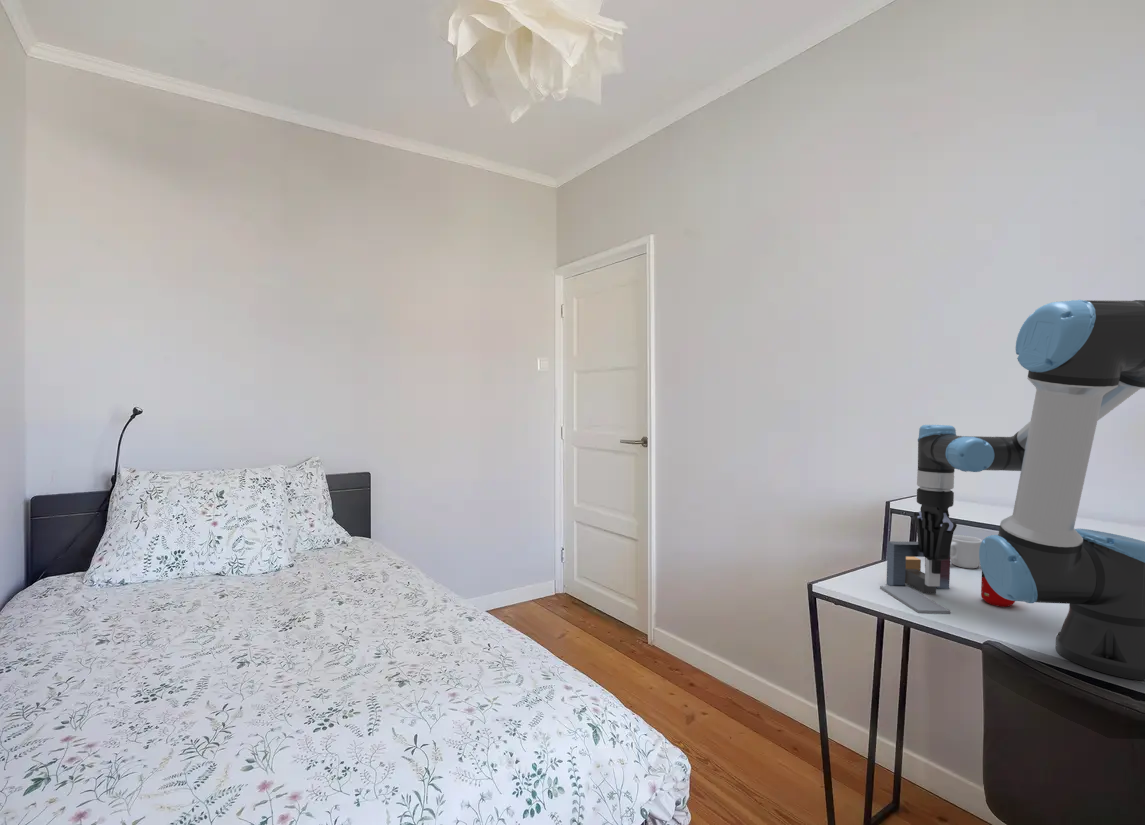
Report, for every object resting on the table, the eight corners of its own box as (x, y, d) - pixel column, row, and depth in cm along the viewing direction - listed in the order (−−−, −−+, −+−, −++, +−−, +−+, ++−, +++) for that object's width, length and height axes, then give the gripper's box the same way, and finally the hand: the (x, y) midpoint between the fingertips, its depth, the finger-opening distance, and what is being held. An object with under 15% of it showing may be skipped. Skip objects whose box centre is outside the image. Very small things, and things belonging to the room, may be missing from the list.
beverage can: (1004, 599, 134) (1006, 549, 134) (1021, 609, 128) (1022, 556, 128) (975, 597, 135) (976, 547, 135) (990, 607, 129) (992, 555, 129)
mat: (950, 613, 125) (950, 610, 125) (918, 613, 125) (918, 610, 125) (908, 588, 141) (908, 586, 141) (880, 588, 141) (880, 586, 141)
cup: (958, 571, 155) (959, 543, 155) (933, 563, 163) (934, 536, 163) (989, 569, 158) (990, 541, 158) (963, 561, 166) (964, 534, 165)
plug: (939, 593, 138) (940, 569, 138) (919, 593, 138) (920, 568, 138) (908, 576, 151) (909, 554, 151) (890, 576, 151) (890, 554, 151)
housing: (949, 588, 141) (950, 545, 141) (893, 588, 141) (894, 544, 141) (941, 584, 144) (942, 542, 144) (886, 584, 144) (887, 541, 144)
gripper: (969, 493, 130) (966, 595, 130) (933, 484, 143) (931, 576, 143) (936, 493, 130) (933, 594, 130) (904, 484, 143) (901, 576, 143)
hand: (932, 585), depth 137 cm, fingers closed
